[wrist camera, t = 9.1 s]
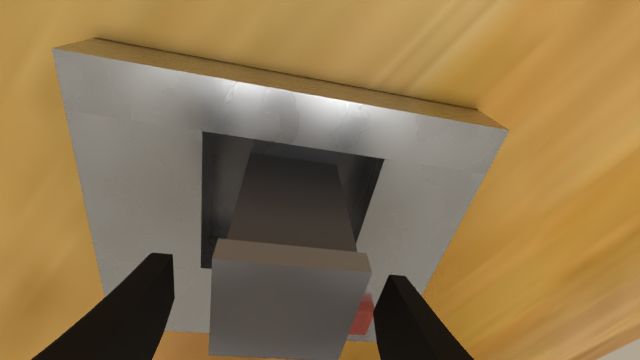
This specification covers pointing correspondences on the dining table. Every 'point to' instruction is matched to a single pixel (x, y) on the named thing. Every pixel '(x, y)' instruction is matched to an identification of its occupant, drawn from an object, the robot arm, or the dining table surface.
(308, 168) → the plug
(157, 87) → the socket
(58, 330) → the dining table surface
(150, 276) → the robot arm
